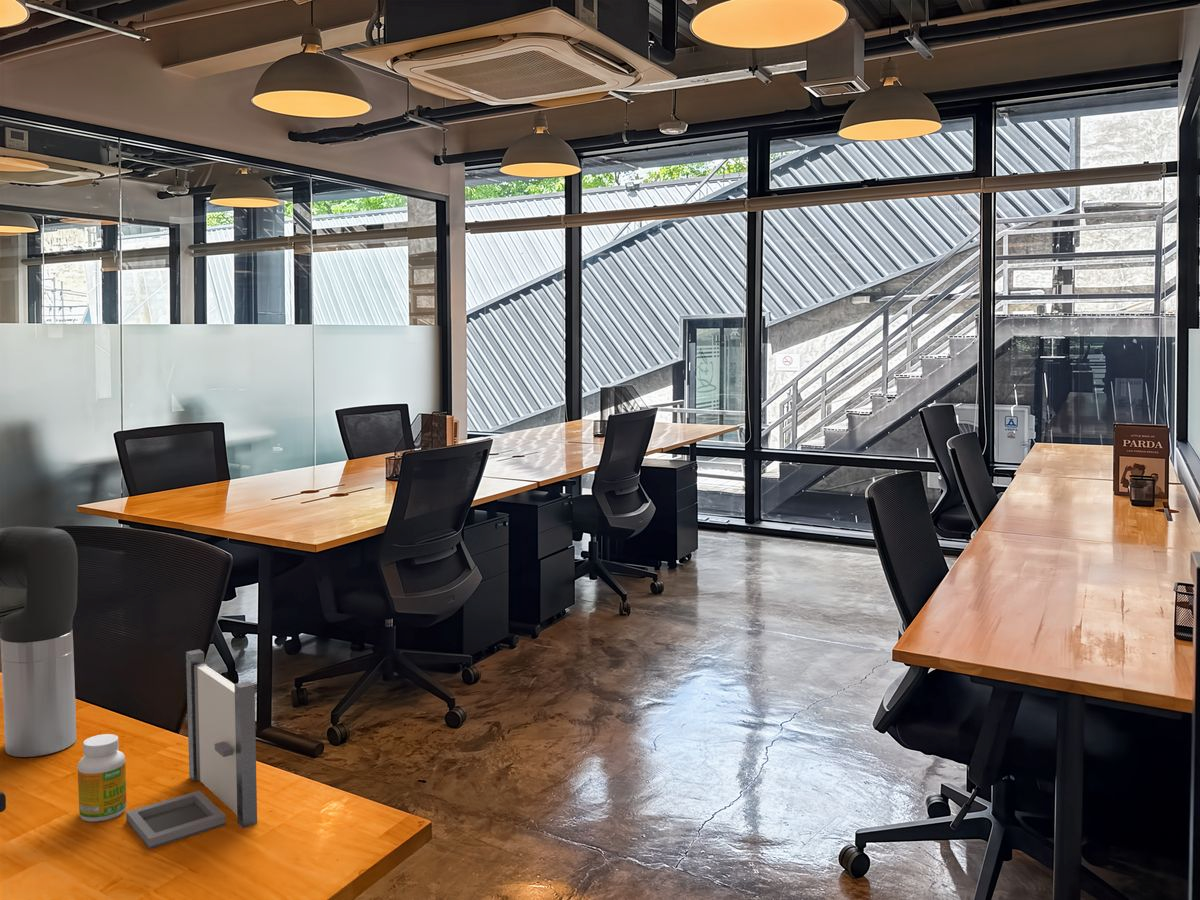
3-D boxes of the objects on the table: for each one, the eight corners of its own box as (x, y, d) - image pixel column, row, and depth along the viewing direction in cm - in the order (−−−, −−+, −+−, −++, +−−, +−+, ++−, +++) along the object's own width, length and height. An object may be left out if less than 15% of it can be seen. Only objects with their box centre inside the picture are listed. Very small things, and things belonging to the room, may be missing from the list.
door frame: (189, 777, 130) (185, 651, 128) (202, 773, 131) (199, 649, 129) (243, 828, 116) (240, 687, 114) (257, 823, 117) (254, 684, 115)
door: (185, 780, 127) (182, 667, 126) (207, 774, 129) (204, 662, 128) (226, 820, 116) (224, 696, 115) (249, 813, 118) (247, 691, 117)
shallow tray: (126, 821, 117) (126, 811, 117) (199, 799, 123) (199, 790, 123) (149, 849, 110) (148, 838, 110) (225, 824, 116) (225, 815, 116)
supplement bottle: (106, 825, 116) (103, 750, 115) (69, 820, 117) (66, 746, 116) (136, 805, 121) (133, 733, 120) (100, 801, 122) (97, 729, 121)
